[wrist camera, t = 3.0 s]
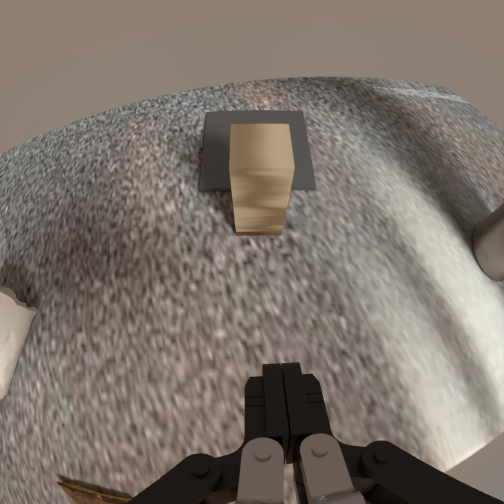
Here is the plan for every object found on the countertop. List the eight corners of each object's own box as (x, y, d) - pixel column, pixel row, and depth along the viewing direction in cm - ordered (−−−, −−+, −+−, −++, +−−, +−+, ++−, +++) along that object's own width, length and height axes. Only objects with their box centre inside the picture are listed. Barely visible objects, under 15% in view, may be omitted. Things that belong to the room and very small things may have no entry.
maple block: (278, 196, 35) (288, 124, 24) (281, 235, 33) (294, 168, 22) (236, 197, 35) (230, 124, 24) (236, 235, 33) (229, 168, 22)
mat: (302, 114, 41) (302, 111, 40) (315, 190, 36) (315, 187, 35) (207, 114, 41) (207, 112, 40) (199, 191, 36) (198, 188, 35)
